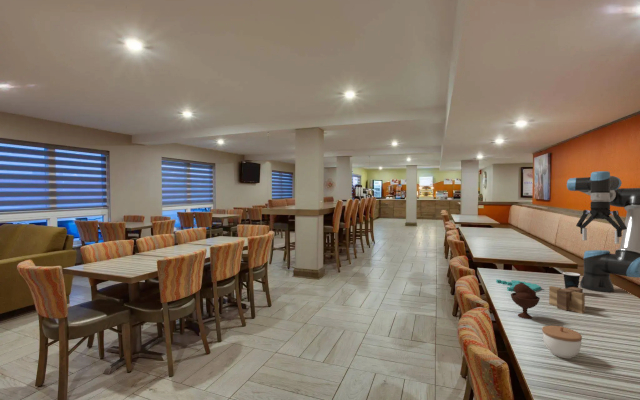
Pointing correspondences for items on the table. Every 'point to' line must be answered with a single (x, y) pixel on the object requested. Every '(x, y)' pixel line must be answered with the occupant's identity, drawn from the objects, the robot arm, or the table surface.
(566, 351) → the lidded jar
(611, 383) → the table surface
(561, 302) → the walnut plate
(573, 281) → the dixie cup
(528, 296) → the ice cream bowl
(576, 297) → the oak board
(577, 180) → the robot arm
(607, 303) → the table surface
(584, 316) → the table surface
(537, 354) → the table surface
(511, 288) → the alien figure
